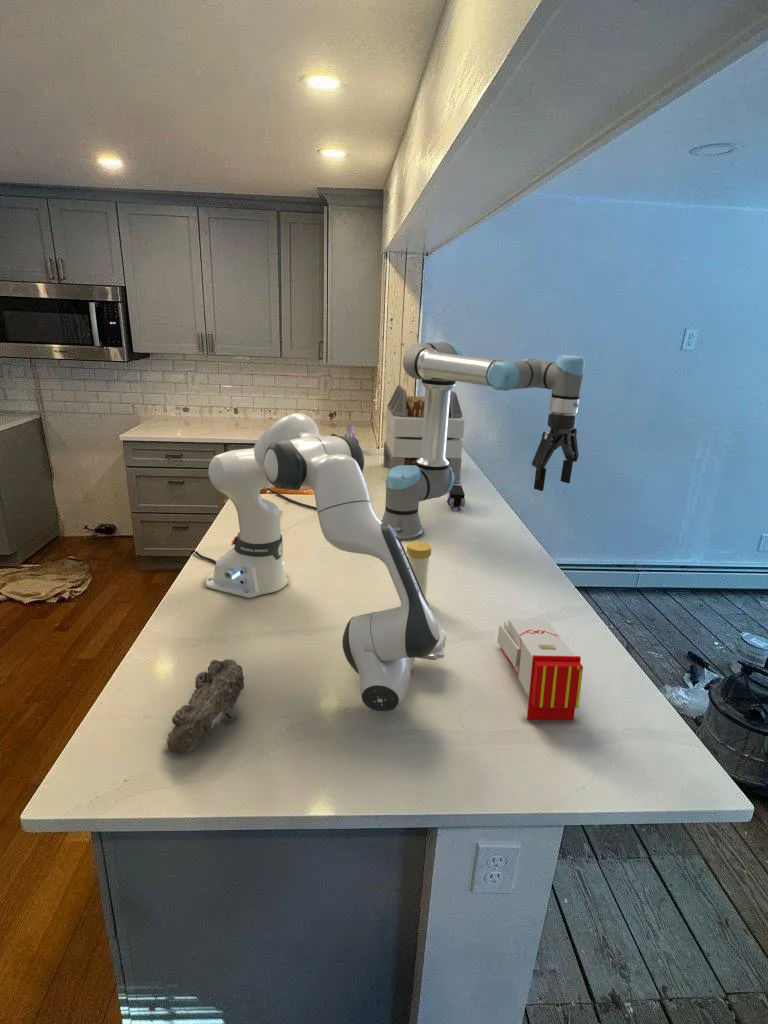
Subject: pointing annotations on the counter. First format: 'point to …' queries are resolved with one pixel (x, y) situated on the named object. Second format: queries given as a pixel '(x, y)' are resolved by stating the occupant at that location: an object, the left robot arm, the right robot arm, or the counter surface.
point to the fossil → (206, 705)
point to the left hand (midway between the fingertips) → (404, 620)
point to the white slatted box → (419, 431)
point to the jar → (420, 571)
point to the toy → (542, 668)
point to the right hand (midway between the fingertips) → (552, 485)
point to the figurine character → (456, 497)
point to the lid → (418, 549)
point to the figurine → (350, 433)
